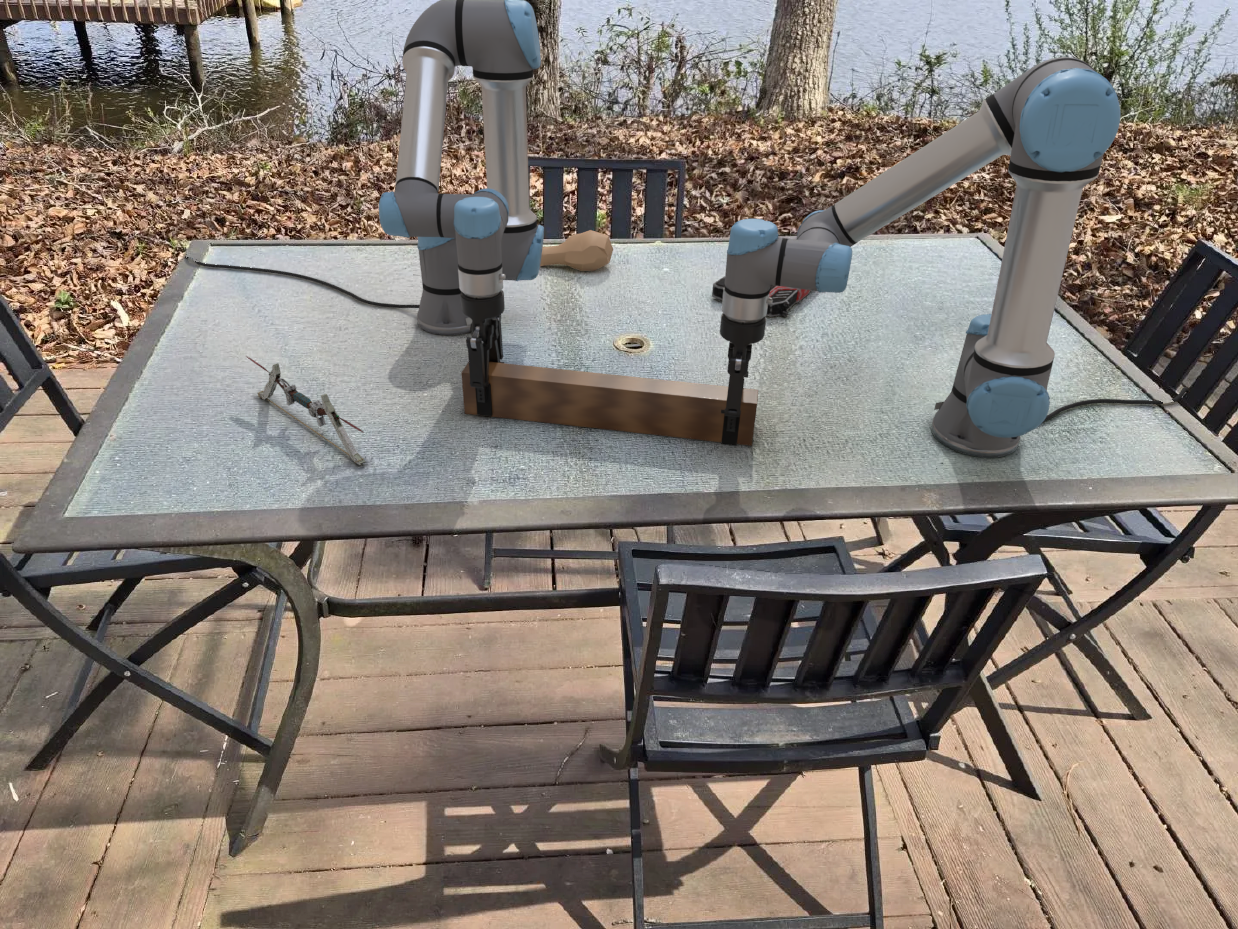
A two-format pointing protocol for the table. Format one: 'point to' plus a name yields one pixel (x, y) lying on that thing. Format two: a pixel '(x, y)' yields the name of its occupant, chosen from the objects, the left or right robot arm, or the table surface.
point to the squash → (580, 252)
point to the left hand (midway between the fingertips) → (489, 406)
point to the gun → (779, 295)
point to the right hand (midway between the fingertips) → (731, 426)
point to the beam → (611, 402)
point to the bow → (311, 409)
